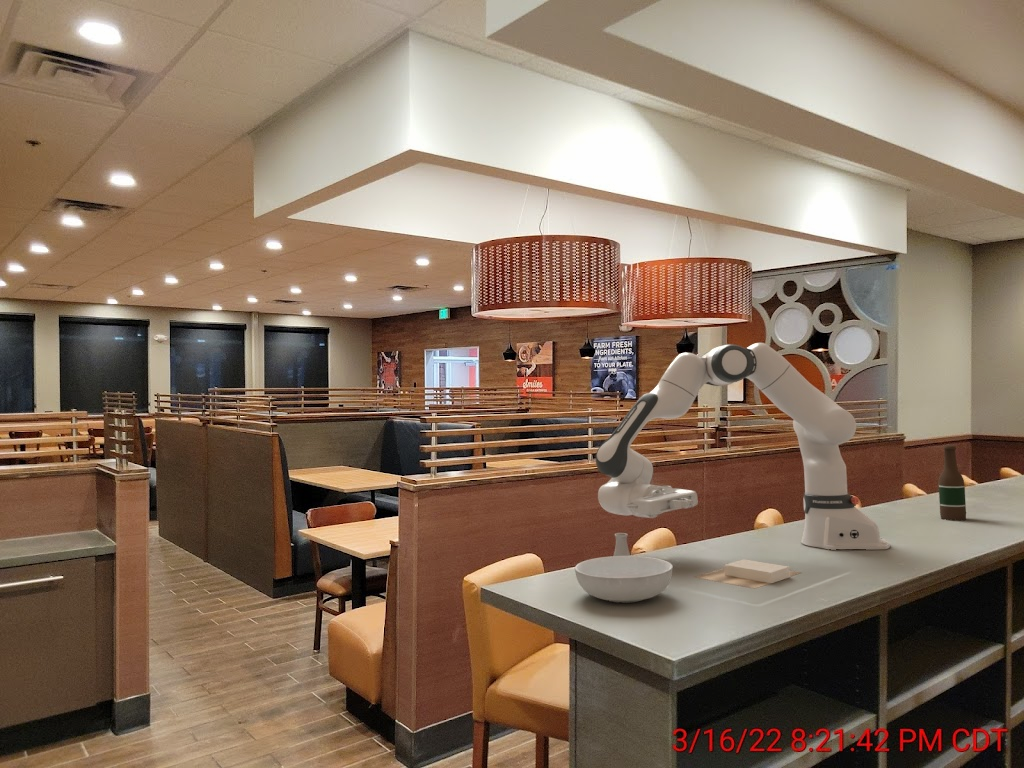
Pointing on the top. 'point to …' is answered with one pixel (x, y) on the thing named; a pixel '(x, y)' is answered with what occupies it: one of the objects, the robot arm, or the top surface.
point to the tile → (757, 571)
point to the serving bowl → (624, 577)
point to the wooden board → (735, 579)
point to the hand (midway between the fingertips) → (690, 504)
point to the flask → (621, 545)
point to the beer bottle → (951, 488)
